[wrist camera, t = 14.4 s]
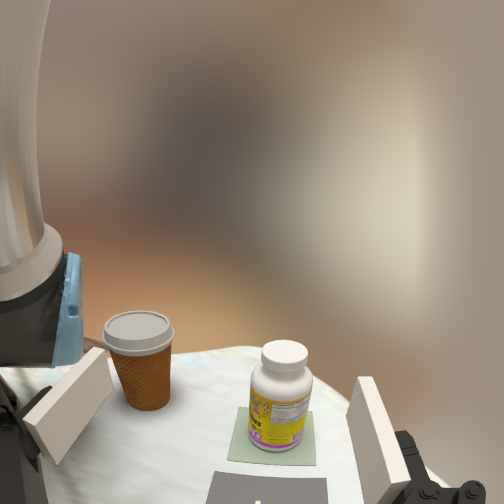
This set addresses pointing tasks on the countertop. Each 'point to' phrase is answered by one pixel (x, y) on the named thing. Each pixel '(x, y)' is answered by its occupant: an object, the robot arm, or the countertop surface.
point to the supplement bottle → (279, 396)
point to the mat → (251, 453)
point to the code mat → (266, 490)
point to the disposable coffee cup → (141, 356)
